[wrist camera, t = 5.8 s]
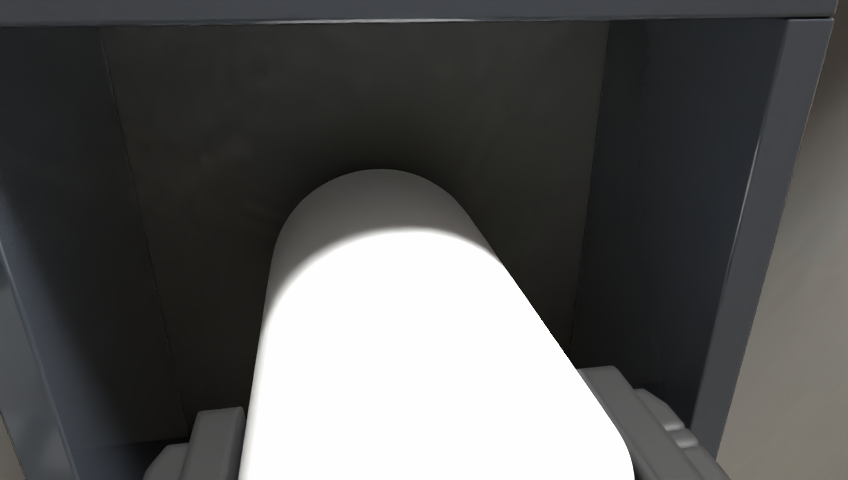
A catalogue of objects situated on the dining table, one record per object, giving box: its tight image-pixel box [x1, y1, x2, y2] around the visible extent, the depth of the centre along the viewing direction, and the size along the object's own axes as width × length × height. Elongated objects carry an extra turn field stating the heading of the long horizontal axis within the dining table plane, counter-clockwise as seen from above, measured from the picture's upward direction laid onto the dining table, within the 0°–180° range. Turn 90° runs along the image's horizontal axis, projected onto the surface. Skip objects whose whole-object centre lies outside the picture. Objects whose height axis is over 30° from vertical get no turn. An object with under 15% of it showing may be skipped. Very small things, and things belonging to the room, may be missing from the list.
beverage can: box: [238, 169, 634, 480], centre depth 12 cm, size 6×6×12 cm
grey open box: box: [0, 0, 839, 480], centre depth 15 cm, size 16×16×7 cm
